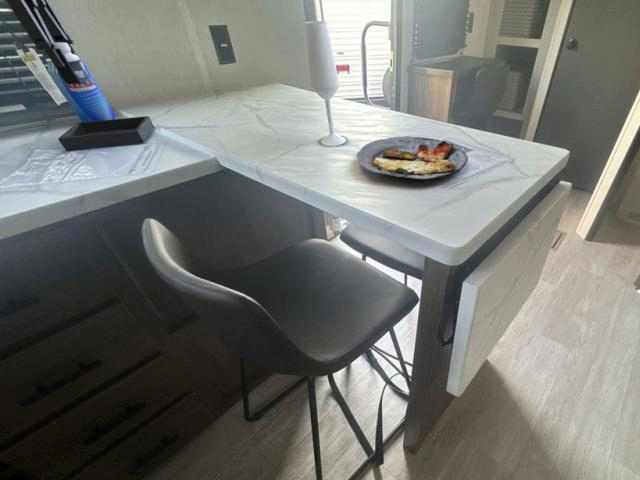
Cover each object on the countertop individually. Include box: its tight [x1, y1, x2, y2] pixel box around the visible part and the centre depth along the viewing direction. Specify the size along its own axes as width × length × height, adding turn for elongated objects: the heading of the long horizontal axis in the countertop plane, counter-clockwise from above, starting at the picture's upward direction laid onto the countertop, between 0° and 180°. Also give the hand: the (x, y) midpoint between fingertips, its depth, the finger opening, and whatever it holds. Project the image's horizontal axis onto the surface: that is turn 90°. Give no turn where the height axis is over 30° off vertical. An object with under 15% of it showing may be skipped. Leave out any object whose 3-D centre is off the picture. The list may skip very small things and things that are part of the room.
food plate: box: [356, 135, 469, 180], centre depth 72 cm, size 25×23×4 cm
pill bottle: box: [54, 42, 95, 91], centre depth 75 cm, size 5×5×9 cm
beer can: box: [45, 58, 117, 122], centre depth 88 cm, size 8×8×16 cm
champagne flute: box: [304, 20, 347, 147], centre depth 75 cm, size 7×7×24 cm
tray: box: [57, 115, 156, 152], centre depth 85 cm, size 18×14×3 cm
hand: (78, 80), depth 77 cm, fingers closed on pill bottle, 5 cm apart
